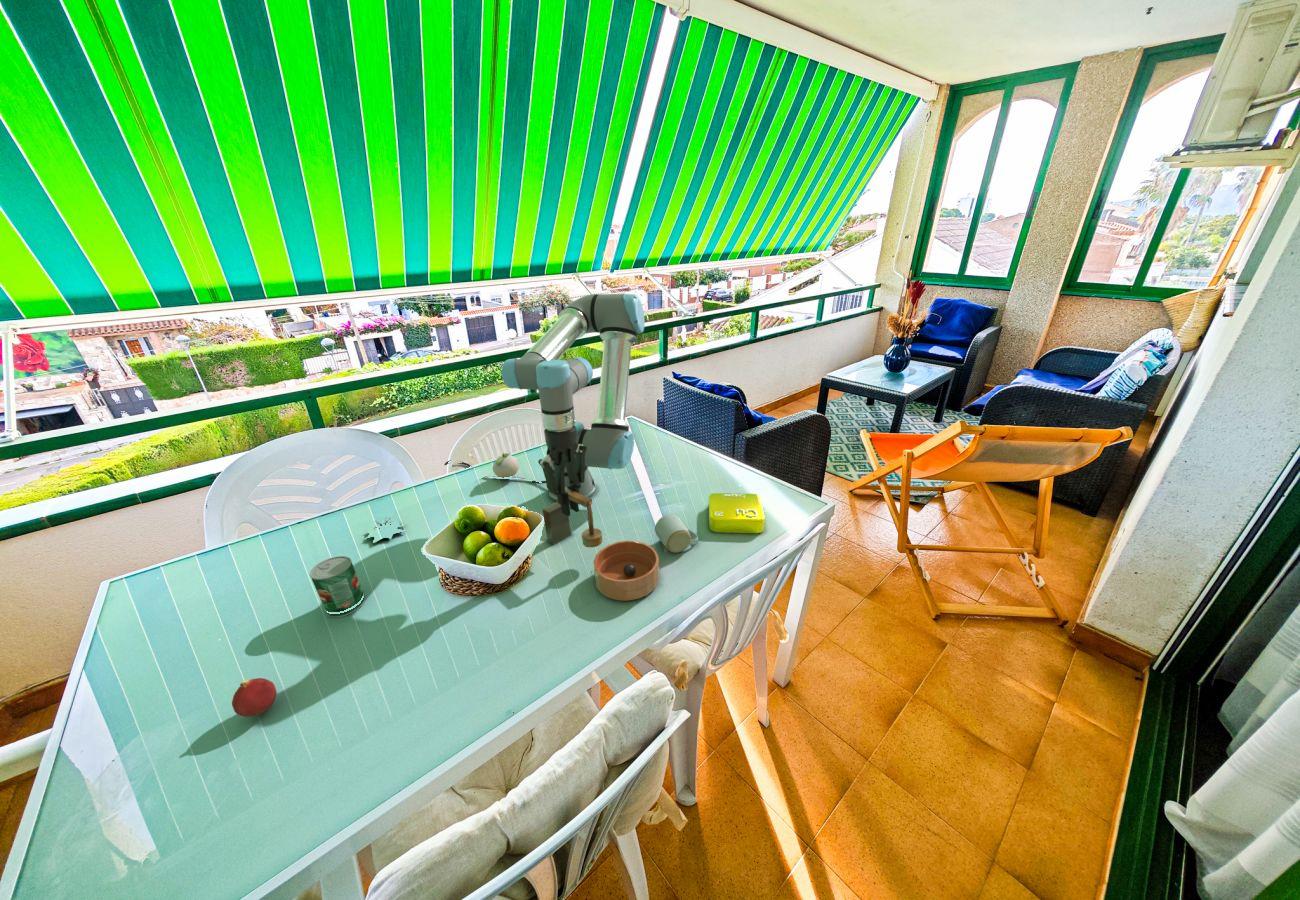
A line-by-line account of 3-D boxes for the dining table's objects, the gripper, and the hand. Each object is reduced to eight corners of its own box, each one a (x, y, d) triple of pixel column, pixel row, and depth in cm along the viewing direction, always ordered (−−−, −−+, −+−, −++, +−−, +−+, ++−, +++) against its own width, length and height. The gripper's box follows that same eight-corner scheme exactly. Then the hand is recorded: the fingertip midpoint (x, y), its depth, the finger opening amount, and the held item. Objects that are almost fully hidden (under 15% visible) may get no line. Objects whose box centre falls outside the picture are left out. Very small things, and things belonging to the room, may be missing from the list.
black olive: (622, 563, 112) (619, 574, 110) (629, 560, 109) (626, 572, 108) (632, 568, 113) (629, 579, 111) (639, 566, 111) (636, 577, 109)
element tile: (758, 505, 139) (759, 491, 137) (764, 534, 125) (765, 519, 123) (708, 504, 140) (708, 491, 138) (709, 532, 127) (709, 518, 125)
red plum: (257, 698, 84) (239, 667, 81) (290, 695, 85) (273, 664, 81) (234, 729, 79) (214, 697, 76) (269, 725, 79) (250, 693, 76)
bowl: (582, 582, 110) (580, 562, 108) (627, 552, 120) (626, 533, 118) (627, 612, 100) (625, 591, 98) (672, 577, 110) (671, 557, 108)
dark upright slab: (547, 540, 126) (542, 508, 122) (564, 531, 130) (560, 499, 126) (553, 545, 124) (548, 512, 120) (571, 535, 128) (567, 503, 124)
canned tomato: (373, 597, 108) (359, 559, 103) (343, 621, 101) (327, 581, 97) (348, 590, 110) (334, 553, 106) (317, 613, 104) (300, 574, 99)
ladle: (546, 524, 123) (541, 485, 119) (561, 516, 127) (556, 478, 122) (591, 549, 112) (587, 508, 107) (606, 540, 115) (603, 500, 111)
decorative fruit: (516, 485, 157) (511, 459, 152) (492, 486, 157) (487, 459, 153) (523, 472, 165) (519, 447, 161) (501, 473, 165) (496, 448, 161)
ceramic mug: (667, 558, 117) (667, 532, 114) (654, 540, 124) (654, 516, 121) (703, 547, 121) (704, 522, 118) (689, 531, 128) (689, 507, 125)
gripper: (542, 440, 101) (555, 530, 111) (594, 421, 111) (602, 505, 121) (523, 432, 106) (537, 519, 115) (574, 415, 116) (583, 496, 125)
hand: (570, 511), depth 118 cm, fingers closed on ladle, 2 cm apart
